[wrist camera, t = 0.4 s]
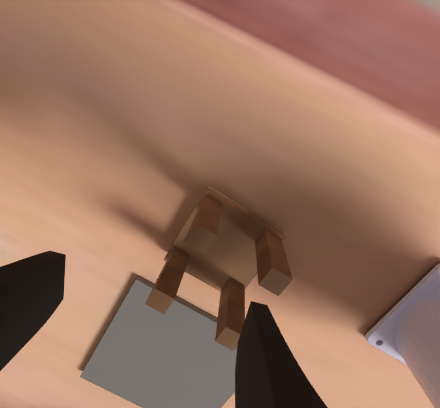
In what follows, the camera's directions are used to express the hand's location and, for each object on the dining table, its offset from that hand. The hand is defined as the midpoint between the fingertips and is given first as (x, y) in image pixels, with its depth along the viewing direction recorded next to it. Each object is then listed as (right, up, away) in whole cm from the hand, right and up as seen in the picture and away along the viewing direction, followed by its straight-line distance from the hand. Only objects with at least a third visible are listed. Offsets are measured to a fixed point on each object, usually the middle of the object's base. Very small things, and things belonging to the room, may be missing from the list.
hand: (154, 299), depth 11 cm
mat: (-2, -10, +13) cm, 17 cm away
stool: (+3, +1, +10) cm, 10 cm away
